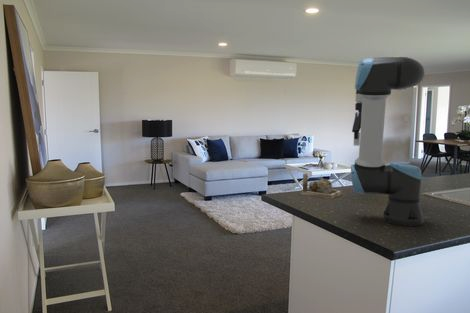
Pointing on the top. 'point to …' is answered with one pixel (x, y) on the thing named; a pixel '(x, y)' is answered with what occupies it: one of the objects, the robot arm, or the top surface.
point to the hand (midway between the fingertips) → (361, 144)
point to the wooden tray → (316, 194)
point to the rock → (321, 186)
